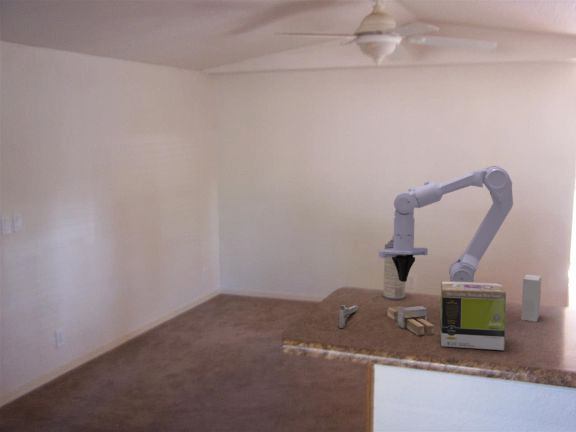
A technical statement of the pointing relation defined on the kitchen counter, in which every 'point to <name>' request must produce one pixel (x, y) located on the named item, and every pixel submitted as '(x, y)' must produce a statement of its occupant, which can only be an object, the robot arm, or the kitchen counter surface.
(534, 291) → the skincare box
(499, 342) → the tea box
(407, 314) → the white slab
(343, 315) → the caliper
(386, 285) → the cream cylinder
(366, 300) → the kitchen counter surface
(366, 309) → the kitchen counter surface
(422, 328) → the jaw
